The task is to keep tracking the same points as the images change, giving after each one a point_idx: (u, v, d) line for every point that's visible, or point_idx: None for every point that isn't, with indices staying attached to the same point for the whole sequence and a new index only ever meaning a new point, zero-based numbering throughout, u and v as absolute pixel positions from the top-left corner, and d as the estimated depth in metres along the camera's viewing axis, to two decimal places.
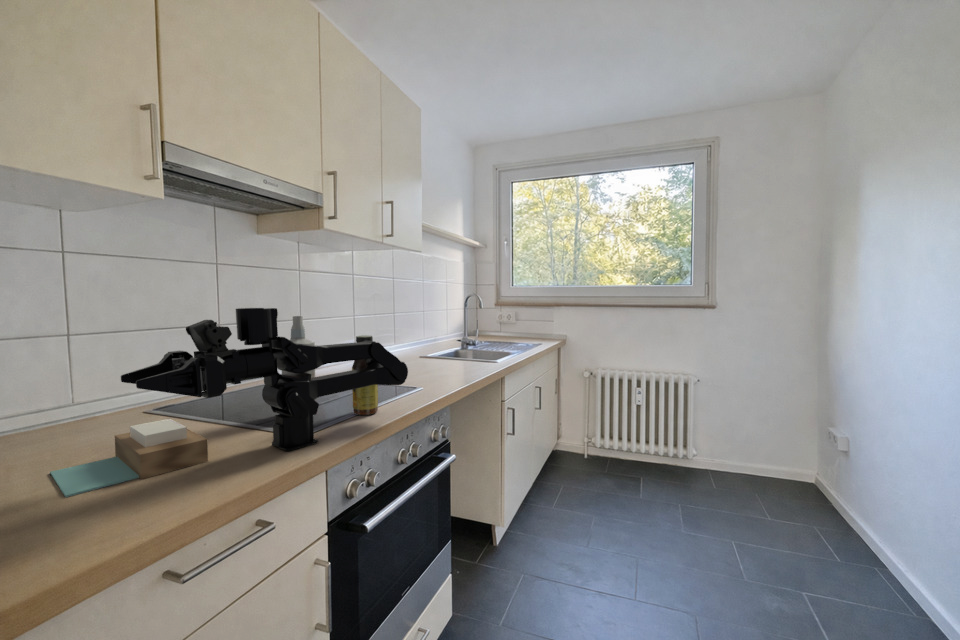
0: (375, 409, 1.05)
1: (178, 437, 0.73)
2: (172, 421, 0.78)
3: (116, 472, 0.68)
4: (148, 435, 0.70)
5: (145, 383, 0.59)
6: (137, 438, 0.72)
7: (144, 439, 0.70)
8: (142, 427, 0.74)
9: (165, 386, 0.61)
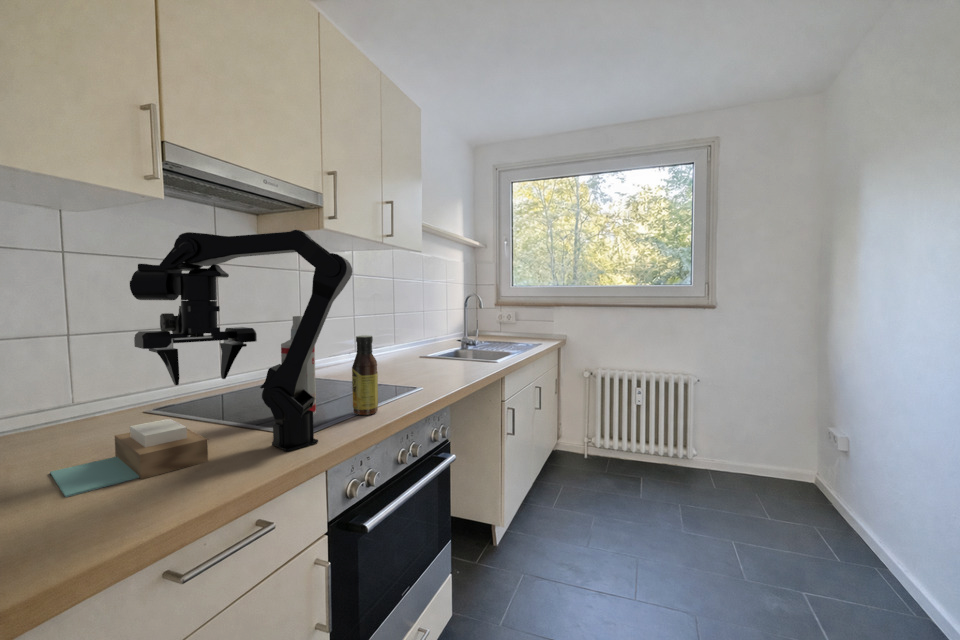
0: (375, 409, 1.05)
1: (178, 437, 0.73)
2: (172, 421, 0.78)
3: (116, 472, 0.68)
4: (148, 435, 0.70)
5: (173, 380, 0.76)
6: (137, 438, 0.72)
7: (144, 439, 0.70)
8: (142, 427, 0.74)
9: (170, 369, 0.75)
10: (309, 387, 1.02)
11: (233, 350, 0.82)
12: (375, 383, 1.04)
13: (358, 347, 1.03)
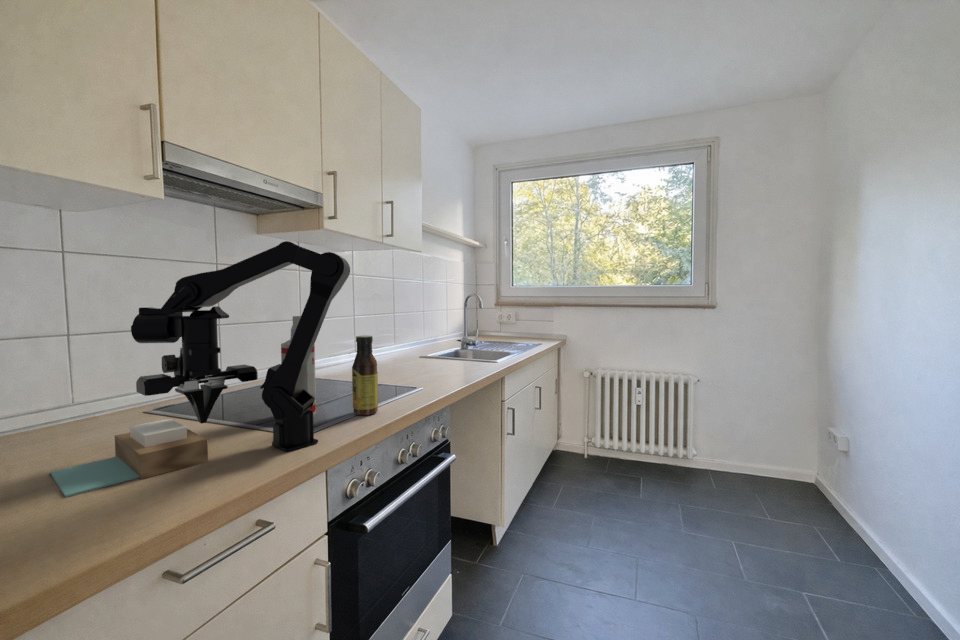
0: (375, 409, 1.05)
1: (178, 437, 0.73)
2: (172, 421, 0.78)
3: (116, 472, 0.68)
4: (148, 435, 0.70)
5: (198, 418, 0.79)
6: (137, 438, 0.72)
7: (144, 439, 0.70)
8: (142, 427, 0.74)
9: (195, 409, 0.78)
10: (309, 387, 1.02)
11: (213, 393, 0.79)
12: (375, 383, 1.04)
13: (358, 347, 1.03)
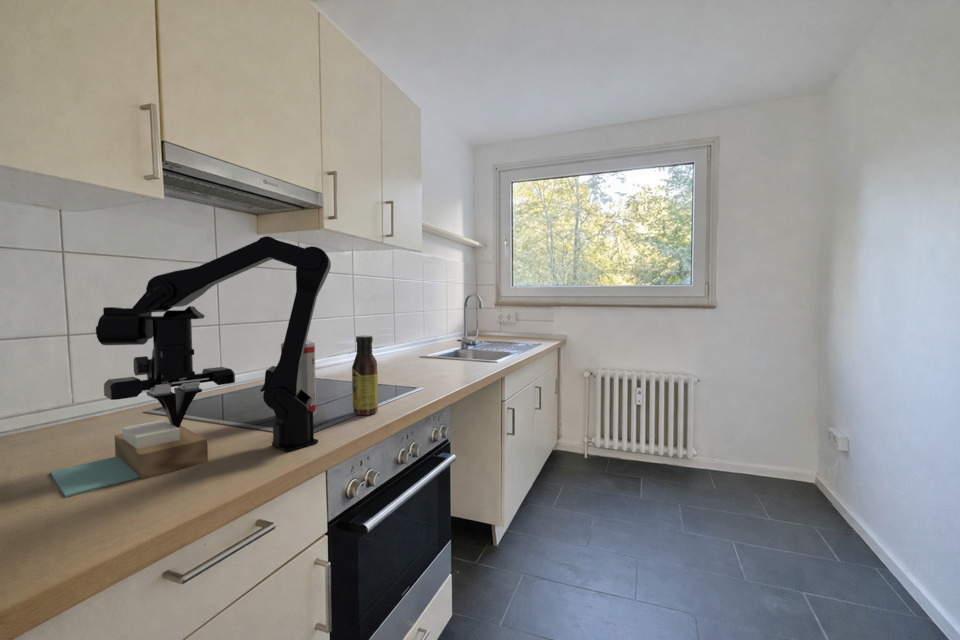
0: (375, 409, 1.05)
1: (171, 439, 0.72)
2: (165, 422, 0.77)
3: (116, 472, 0.68)
4: (140, 437, 0.69)
5: (171, 423, 0.76)
6: (129, 440, 0.71)
7: (136, 441, 0.69)
8: (134, 429, 0.73)
9: (168, 413, 0.75)
10: (309, 387, 1.02)
11: (186, 397, 0.76)
12: (375, 383, 1.04)
13: (358, 347, 1.03)
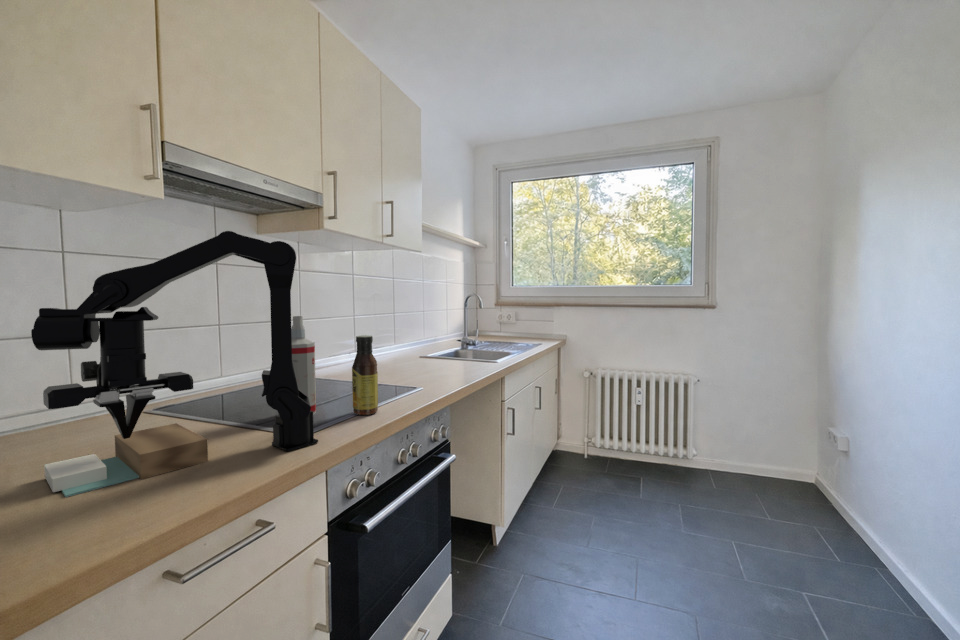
0: (375, 409, 1.05)
1: (64, 479, 0.62)
2: None
3: (116, 472, 0.68)
4: (102, 478, 0.65)
5: (121, 433, 0.70)
6: None
7: None
8: None
9: (116, 422, 0.69)
10: (309, 387, 1.02)
11: (137, 405, 0.70)
12: (375, 383, 1.04)
13: (358, 347, 1.03)
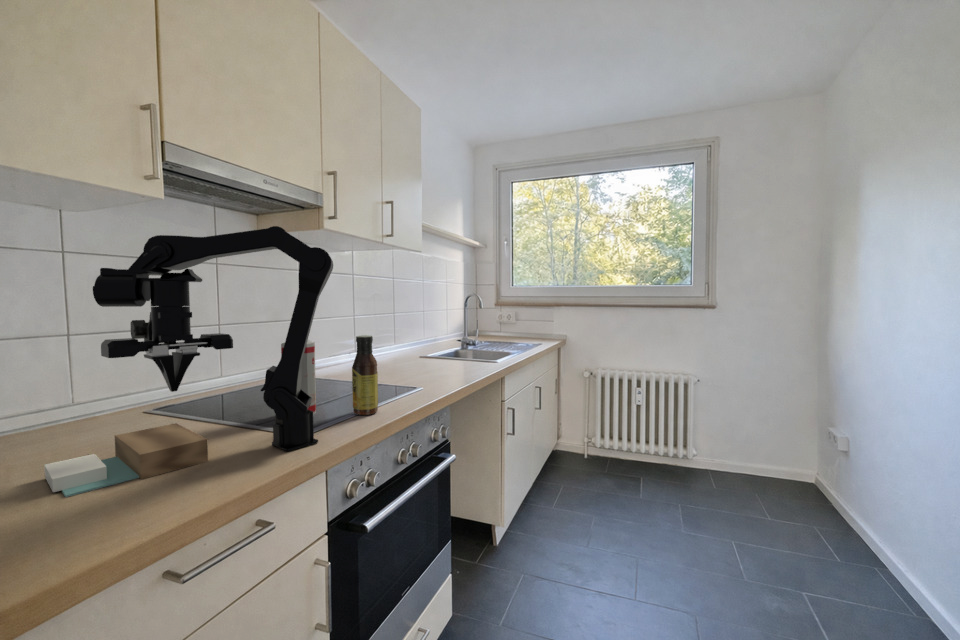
0: (375, 409, 1.05)
1: (64, 479, 0.62)
2: None
3: (116, 472, 0.68)
4: (102, 478, 0.65)
5: (169, 386, 0.76)
6: None
7: None
8: None
9: (165, 376, 0.75)
10: (309, 387, 1.02)
11: (184, 360, 0.75)
12: (375, 383, 1.04)
13: (358, 347, 1.03)
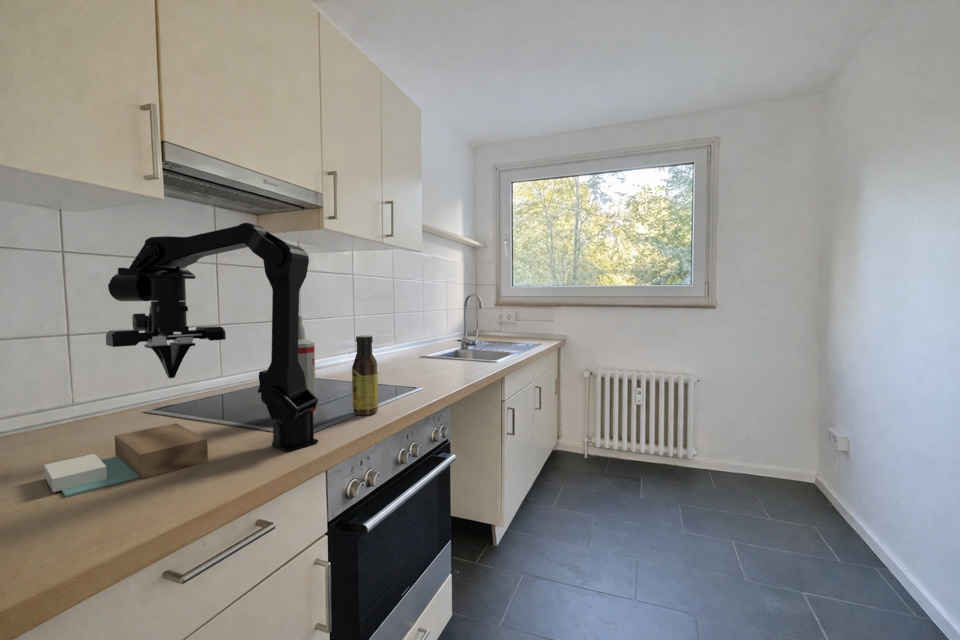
0: (375, 409, 1.05)
1: (64, 479, 0.62)
2: None
3: (116, 472, 0.68)
4: (102, 478, 0.65)
5: (167, 373, 0.84)
6: None
7: None
8: None
9: (164, 363, 0.82)
10: (309, 387, 1.02)
11: (180, 349, 0.83)
12: (375, 383, 1.04)
13: (358, 347, 1.03)
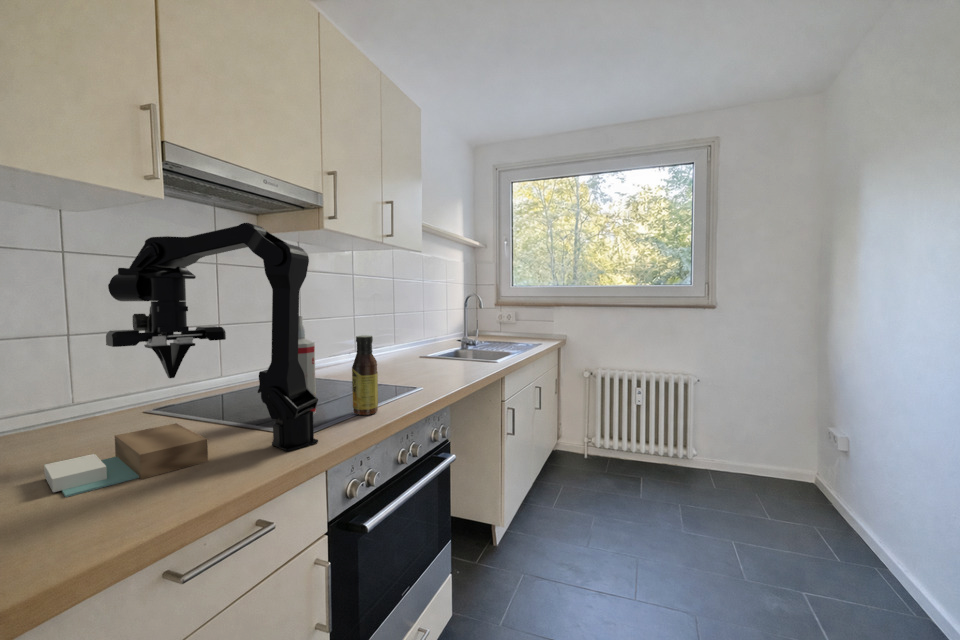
0: (375, 409, 1.05)
1: (64, 479, 0.62)
2: None
3: (116, 472, 0.68)
4: (102, 478, 0.65)
5: (167, 373, 0.84)
6: None
7: None
8: None
9: (164, 364, 0.82)
10: (309, 387, 1.02)
11: (180, 349, 0.83)
12: (375, 383, 1.04)
13: (358, 347, 1.03)
